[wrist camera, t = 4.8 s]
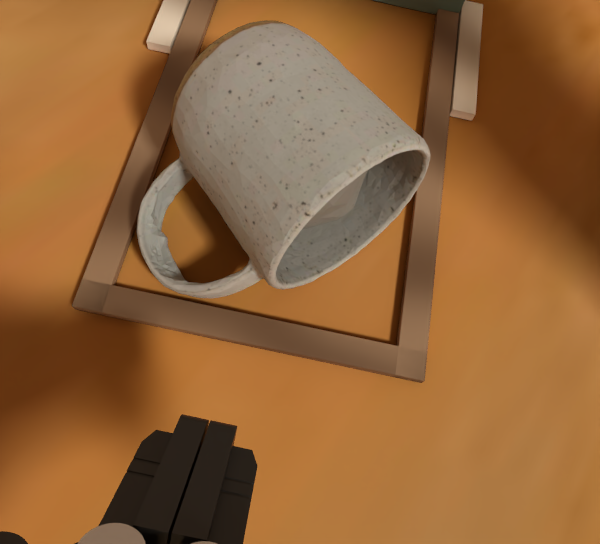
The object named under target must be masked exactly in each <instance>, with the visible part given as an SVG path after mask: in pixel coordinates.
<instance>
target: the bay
mask: <svg viewBox="0 0 600 544" xmlns="http://www.w3.org/2000/svg"><path fill="white" fill-rule="evenodd" d="M374 1H378V2H382V3H387V4H391V5H396V6H400V7H405V8H409V9H414V10H418V11H422V12H427V13H431V14H436V18H435V27H434V35H433V43H432V52H431V60H430V69H429V77H428V85H427V94H426V102H425V110H424V119H423V127H422V136H421V137H422V138H423V139H424V140H425V142H426V144H427V145H428V147H429V150H430V154H431V157H430V161H429V165H428V169H427V172H426V174H425V177H424V179H423V181H422V182H421V184H420V186H419V187H418V189H417V191H416V192H415V194H414V203H413V211H412V220H411V228H410V236H409V245H408V253H407V262H406V270H405V278H404V287H403V295H402V303H401V312H400V320H399V329H398V337H397V345H396V346H395V345H391V344H386V343H381V342H377V341H372V340H367V339H363V338H358V337H353V336H349V335H344V334H339V333H335V332H330V331H325V330H320V329H316V328H311V327H306V326H302V325H297V324H292V323H288V322H283V321H278V320H274V319H269V318H264V317H260V316H255V315H250V314H246V313H241V312H236V311H232V310H227V309H222V308H217V307H213V306H208V305H203V304H199V303H194V302H189V301H185V300H180V299H175V298H171V297H166V296H161V295H157V294H152V293H147V292H143V291H138V290H133V289H129V288H124V287H119V286H115V283H116V281H117V278H118V275H119V272H120V270H121V267H122V264H123V261H124V258H125V256H126V253H127V250H128V247H129V245H130V242H131V239H132V236H133V233H134V231H135V228H136V225H137V222H138V215H139V210H140V205H141V202H142V200H143V198H144V196H145V194H146V193H147V191H148V189H149V188H150V186H151V184H152V181H153V178H154V175H155V172H156V170H157V167H158V164H159V161H160V159H161V156H162V153H163V150H164V147H165V145H166V142H167V139H168V136H169V134H170V131H171V128H172V126H171V113H172V108H173V102H174V97H175V94H176V92H177V90H178V88H179V86H180V84H181V82H182V80H183V78H184V76H185V74H186V72H187V71H188V69H189V68H190V66H191V65H192V64H193V62H194V61H195V60H196V59H197V56H198V53H199V50H200V47H201V45H202V42H203V39H204V36H205V34H206V31H207V28H208V25H209V23H210V20H211V17H212V14H213V11H214V9H215V6H216V3H217V0H163V3H162V5H161V8H160V10H159V12H158V15H157V17H156V19H155V22H154V24H153V27H152V29H151V31H150V34H149V36H148V39H147V41H146V42H147V46H148V49H150V50H155V51H159V52H164V53H168V54H170V55H169V58H168V60H167V63H166V65H165V68H164V70H163V73H162V76H161V78H160V81H159V83H158V86H157V88H156V91H155V94H154V96H153V99H152V101H151V104H150V106H149V109H148V112H147V114H146V117H145V119H144V122H143V124H142V127H141V129H140V132H139V135H138V137H137V140H136V142H135V145H134V147H133V150H132V153H131V155H130V158H129V160H128V163H127V165H126V168H125V171H124V173H123V176H122V178H121V181H120V183H119V186H118V189H117V191H116V194H115V196H114V199H113V201H112V204H111V207H110V209H109V212H108V214H107V217H106V219H105V222H104V225H103V227H102V230H101V232H100V235H99V237H98V240H97V242H96V245H95V248H94V250H93V253H92V255H91V258H90V260H89V263H88V266H87V268H86V271H85V273H84V276H83V278H82V281H81V284H80V286H79V289H78V291H77V294H76V296H75V299H74V302H73V304H72V307H73V308H74V309H76V310H81V311H86V312H91V313H95V314H100V315H105V316H109V317H114V318H119V319H124V320H128V321H133V322H138V323H142V324H147V325H152V326H156V327H161V328H166V329H171V330H175V331H180V332H185V333H189V334H194V335H199V336H203V337H208V338H213V339H218V340H222V341H227V342H232V343H236V344H241V345H246V346H251V347H255V348H260V349H265V350H269V351H274V352H279V353H283V354H288V355H293V356H298V357H302V358H307V359H312V360H316V361H321V362H326V363H330V364H335V365H340V366H345V367H349V368H354V369H359V370H363V371H368V372H373V373H378V374H382V375H387V376H392V377H396V378H401V379H406V380H410V381H415V382H420V383H422V382H424V381H425V370H426V360H427V349H428V338H429V328H430V317H431V306H432V296H433V285H434V275H435V264H436V253H437V243H438V232H439V222H440V211H441V200H442V190H443V179H444V169H445V158H446V147H447V137H448V126H449V116H452V117H457V118H461V119H466V120H470V121H472V119H473V118H474V116H475V115H476V102H477V88H478V73H479V59H480V44H481V30H482V15H483V4H479V3H475V2H471V1H466V0H374Z"/></svg>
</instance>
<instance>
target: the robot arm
mask: <svg viewBox="0 0 600 544" xmlns="http://www.w3.org/2000/svg"><path fill="white" fill-rule="evenodd" d="M208 424H209V426H208ZM236 430H237V426H235V425H230V424H225V423H221V422H216V421H210V423H209V420H206V419H201V418H197V417H192V416H187V415H183V414H182V415H181V416H180V419H179V421H178V423H177V425H176V428H175V430H174V432H173V433H169V432H164V431H159V430H156V431H155V432H153V433H152V434H151V435H150V436H148V437H147V438H146V439H145V440H143V441H142V442H141V444H140V446H139V448H138V450H137V452H136V454H135V456H134V459H133V461H132V462H131V464H130V466H129V468H128V470H127V473H126V474H125V476H124V478H123V479H122V481H121V483H120V485H119V487H118V489H117V491H116V493H115V495H114V497H113V499H112V501H111V503H110V505H109V507H108V509H107V511H106V513H105V515H104V517H103V519H102V521H101V522H100V524H99V526H98V527H96V528H94V529H92V530H90V531H89V532H88V533H86V534H85V535H84V536H83V537H82V538H81V540H80V541H79V542H77V543H75V544H243V540H244V535H245V529H246V524H247V519H248V513H249V508H250V502H251V497H252V492H253V486H254V481H255V476H256V470H257V464H256V461H255V458H254V455H253V451H252V450H249V449H244V448H240V447H235V446H233V445H234V440H235V435H236ZM0 544H28V543H27V542H26V541H25V539H23V538H22V537H21V536H19V535H17V534H15V533H11V532H3V531H2V532H0Z"/></svg>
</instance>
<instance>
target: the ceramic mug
mask: <svg viewBox="0 0 600 544" xmlns="http://www.w3.org/2000/svg"><path fill="white" fill-rule="evenodd" d="M171 126H172V132H173V135H174V138H175V141H176V144H177V146H178V148H179V151H180V157H179V158H178V159H177V160H176V161H175V162H173V163H171V164H170V165H169V166H168V167H167V168H166V169H165V170H163V171H162V172H161V174H160V175H159V176H158V177H157V178H156V179H155V180H154V182H153V183H152V184H151V186H150V188H149V189H148V191H147V193H146V194H145V196H144V198H143V200H142V202H141V205H140V210H139V215H138V222H137V236H138V242H139V246H140V250H141V253H142V256H143V258H144V260H145V262H146V263H147V265H148V267H149V269H150V271H151V273H152V274H153V275H154V276H155V277H156V278H157V279H158V280H159V281H160V282H161V284H163V285H164V286H165V287H167V288H169V289H171V290H173V291H176V292H178V293H181V294H185V295H189V296H192V297H198V298H218V297H223V296H228V295H231V294H233V293H236V292H239V291H241V290H243V289H245V288H247V287H249V286H251V285H254V284H255V283H257V282H258V281H259V280H261V279H263V278H264V279H265V280H266V281H267V283H268V284H269V285H271V286H272V287H274V288H277V289H289V288H294V287H297V286H301V285H305V284H307V283H310V282H312V281H314V280H315V279H317V278H319V277H320V276H322V275H324V274H326V273H328V272H330V271H332V270H334V269H335V268H337V267H338V266H340V265H341V264H343V263H344V262H345V261H347V260H348V259H350V258H351V257H352V256H354V255H356V254H357V253H358V252H359V251H360V250H361V249H362V248H364V247H366V246H367V245H368V244H369V243H370V242H371V241H372V240H373V239H374V238H375V237H376V236H378V235H379V234H380V233H381V232H382V231H383V230H384V229H385V228H386V227H387V226H388V225H389V224H390V223H391V222H392V221H393V220H394V219H395V218H396V217H397V216H398V215H399V214H400V213H401V211H402V210H403V208H404V207H405V206H406V204H407V203H408V202H409V201H410V200H411V198H412V197H413V195H414V193H415V192H416V191H417V189H418V187H419V186H420V184H421V182H422V181H423V179H424V177H425V174H426V172H427V169H428V165H429V161H430V157H431V154H430V150H429V147H428V145H427V144H426V142H425V140H424V139H423V138H422V137H421V136H420V135H419V134H417V133H416V132H415V131H414V130H413V129H412V128H410V127H409V126H408V125H407V124H406V123H405V122H404V121H403V120H402V119H400V118H399V117H398V116H397V115H396V114H395V113H394V112H393V111H392V110H391V109H390V108H389V107H388V106H387V105H386V104H385V103H383V102H382V101H381V100H380V99H379V98H378V97H377V96H376V95H375V94H374V93H373V92H372V91H371V90H370V89H369V88H367V87H366V86H365V85H364V84H363V83H362V82H361V81H359V80H358V79H357V78H356V77H355V76H354V75H353V74H351V73H350V72H349V71H348V70H347V69H346V68H345V67H344V66H343V65H342V64H341V63H340V62H339V60H338V59H336V58H335V57H334V56H333V55H332V54H331V53H330V52H329V51H328V50H327V49H326V48H325V47H323V46H322V45H321V44H320V43H319V42H317V41H316V40H314V39H313V38H311V37H310V36H308V35H307V34H305V33H303V32H302V31H300V30H298V29H297V28H295V27H293V26H290V25H288V24H285V23H282V22H278V21H259V22H253V23H249V24H246V25H243V26H241V27H238V28H236V29H234V30H232V31H231V32H229V33H227V34H225V35H224V36H222V37H220V38H219V39H218V40H216V41H215V42H213V43H212V44H210V45H209V46H208V47H207V48H206V49H205V50H204V51H203V52H202V53H201V54H200V55H199V56H198V57H197V59H196V60H195V61H194V62H193V64H192V65H191V66H190V68H189V69H188V71H187V72H186V74H185V76H184V78H183V80H182V82H181V84H180V86H179V88H178V90H177V92H176V94H175V97H174V102H173V108H172V113H171ZM193 177H194V178H195V179H196V180H197V182H198V183H199V185H200V186H201V188H202V189H203V190H204V192H205V193H206V194H207V195H208V197H209V199H210V200H211V202H212V203H213V204H214V205H215V207H216V208H217V210H218V211H219V213H220V214H221V216H222V218H223V219H224V221H225V222H226V224H227V225H228V227H229V228H230V230H231V231H232V233H233V234H234V236H235V238H236V239H237V240H238V241H239V243H240V245H241V247H242V248H243V250H244V251H245V252H246V253H247V254H248V256H249V258H250V260H249V262H248V264H247V265H246V266H245V267H244V268H243V269H242V270H240V271H239V272H237V273H235V274H231V275H229V276H227V277H225V278H222V279H219V280H216V281H213V282H209V283H193V282H187V281H186V280H185V279H184V278H183V276H182V274H181V272H180V270H179V268H178V267H177V265H176V263H175V261H174V260H173V258H172V256H171V253H170V251H169V248H168V241H167V237H166V236H165V234H164V233H162V232H161V228H162V222H163V218H164V215H165V213H166V210H167V208H168V206H169V205H170V203H171V202H172V201H173V199H174V197H175V195H176V194H177V193H178V192H179V191H180V190H181V189H182V188H183V187H184V185H185V184H187V183H188V182H189V181H190V180H191V179H192V178H193Z"/></svg>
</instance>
